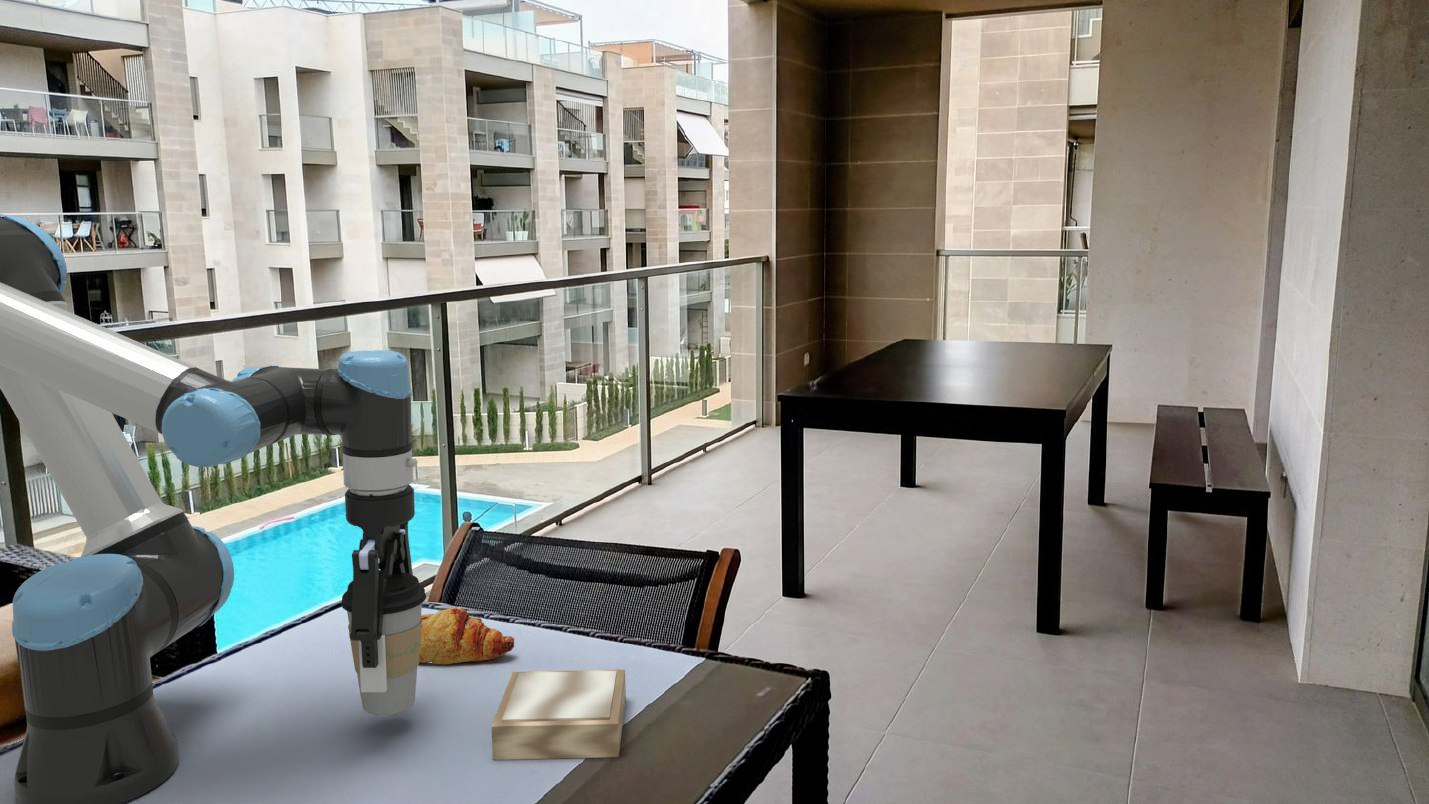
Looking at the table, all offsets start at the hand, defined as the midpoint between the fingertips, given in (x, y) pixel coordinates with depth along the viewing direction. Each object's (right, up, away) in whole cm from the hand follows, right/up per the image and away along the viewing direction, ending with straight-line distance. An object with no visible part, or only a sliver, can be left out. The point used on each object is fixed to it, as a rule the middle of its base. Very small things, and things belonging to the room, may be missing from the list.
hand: (387, 671), depth 119 cm
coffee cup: (0, -4, +1) cm, 4 cm away
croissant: (+1, -4, +23) cm, 23 cm away
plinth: (+21, -7, +1) cm, 22 cm away
